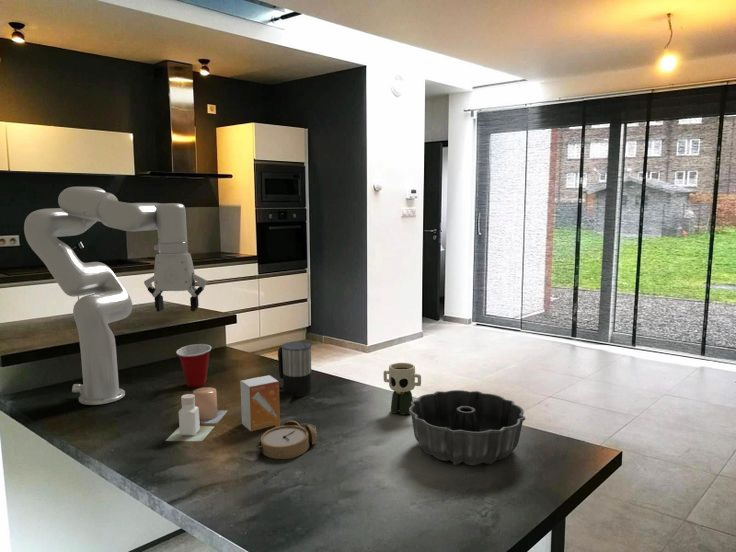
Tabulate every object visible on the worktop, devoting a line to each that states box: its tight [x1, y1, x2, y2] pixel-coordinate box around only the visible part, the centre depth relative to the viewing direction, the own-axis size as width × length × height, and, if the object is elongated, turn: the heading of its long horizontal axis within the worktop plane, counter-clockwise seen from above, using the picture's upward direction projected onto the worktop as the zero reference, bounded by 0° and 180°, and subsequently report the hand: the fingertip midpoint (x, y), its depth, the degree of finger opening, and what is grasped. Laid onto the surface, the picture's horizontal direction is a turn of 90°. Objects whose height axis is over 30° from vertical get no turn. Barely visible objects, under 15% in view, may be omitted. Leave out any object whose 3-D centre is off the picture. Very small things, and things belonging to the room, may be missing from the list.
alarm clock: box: [257, 420, 319, 460], centre depth 139 cm, size 11×5×15 cm
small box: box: [239, 374, 281, 432], centre depth 148 cm, size 8×6×13 cm
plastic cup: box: [175, 343, 212, 388], centre depth 185 cm, size 11×11×12 cm
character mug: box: [383, 362, 422, 415], centre depth 158 cm, size 11×7×13 cm, turn 66°
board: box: [165, 409, 228, 442], centre depth 149 cm, size 14×22×2 cm, turn 176°
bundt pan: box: [408, 389, 526, 466], centre depth 135 cm, size 26×26×10 cm
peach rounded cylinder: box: [192, 386, 218, 421], centre depth 154 cm, size 6×6×7 cm
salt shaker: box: [178, 393, 201, 436], centre depth 143 cm, size 4×4×10 cm
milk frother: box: [277, 341, 314, 398], centre depth 175 cm, size 14×16×15 cm
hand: (177, 310), depth 161 cm, fingers open, 9 cm apart
